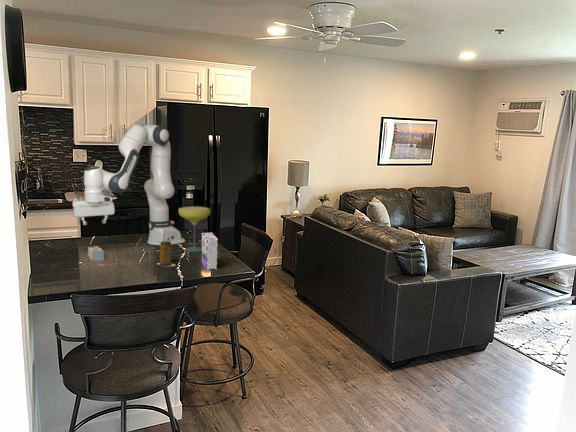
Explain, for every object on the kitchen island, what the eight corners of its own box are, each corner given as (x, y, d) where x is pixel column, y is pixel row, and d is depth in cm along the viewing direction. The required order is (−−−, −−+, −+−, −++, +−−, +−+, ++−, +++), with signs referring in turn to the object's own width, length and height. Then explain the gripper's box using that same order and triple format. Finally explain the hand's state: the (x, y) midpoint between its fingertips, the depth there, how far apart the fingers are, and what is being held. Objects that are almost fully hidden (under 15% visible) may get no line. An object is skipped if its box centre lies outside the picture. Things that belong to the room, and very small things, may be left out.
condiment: (169, 261, 242) (169, 239, 240) (176, 265, 236) (176, 243, 234) (156, 263, 238) (156, 241, 235) (163, 267, 231) (162, 244, 229)
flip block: (97, 246, 247) (103, 250, 239) (97, 255, 248) (103, 260, 240) (87, 247, 244) (93, 252, 236) (88, 256, 245) (93, 261, 237)
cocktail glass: (212, 252, 263) (213, 210, 259) (181, 254, 256) (181, 210, 252) (206, 245, 280) (206, 205, 275) (176, 246, 273) (176, 205, 268)
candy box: (201, 262, 243) (201, 232, 240) (212, 261, 245) (212, 232, 242) (206, 270, 230) (206, 238, 227) (217, 269, 232) (218, 238, 229)
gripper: (73, 200, 228) (74, 227, 230) (115, 197, 240) (116, 223, 243) (70, 198, 233) (71, 224, 235) (111, 196, 245) (112, 221, 248)
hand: (94, 224), depth 239 cm, fingers open, 8 cm apart
